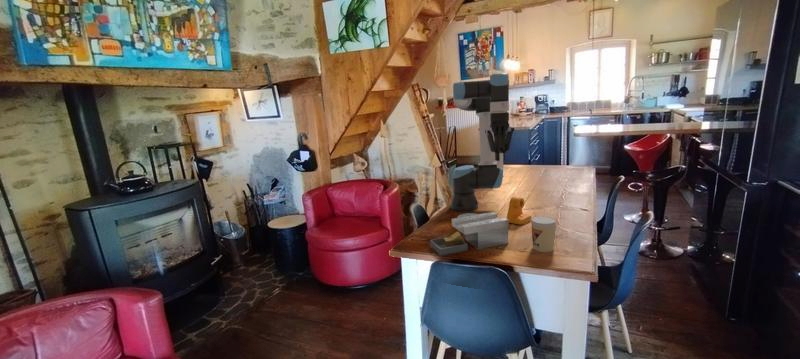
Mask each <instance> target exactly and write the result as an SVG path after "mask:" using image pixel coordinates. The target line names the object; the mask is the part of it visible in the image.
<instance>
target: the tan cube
mask: <svg viewBox="0 0 800 359" xmlns="http://www.w3.org/2000/svg"><path fill="white" fill-rule="evenodd" d="M450 236H452V238H453V239H454V241H455V242H456V243H457V245H459V244H461V243H462V242H466V240H465V237H463V236H462V233H461V232H460V231H459V230H457V231H456V232H455V233H453V234H452V235H450Z"/></svg>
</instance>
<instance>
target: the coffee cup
mask: <svg viewBox="0 0 800 359" xmlns="http://www.w3.org/2000/svg"><path fill="white" fill-rule="evenodd" d="M530 223H531V238H532V239H531V241H532V248H533V250H535V251H536V252H540V253H550V252H553V250H554V247H555V239H556V228H557V227H556V226H557V220H556V219H555V218H553V217H550V216H545V215H544V216H535V217H531V220H530Z"/></svg>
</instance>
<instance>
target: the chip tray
mask: <svg viewBox="0 0 800 359" xmlns="http://www.w3.org/2000/svg"><path fill="white" fill-rule="evenodd" d="M449 237H452V236H451V235H449V236H445V237H439V238H433V239H429V245H430V246H429V247H430V248H431V249H432V250H433V251H434V252H436V254H438V256H439V257H443V256H450V255H454V254H459V253H460V254H461V253H465V252H468V251H469V250H468V249H469V248H468V247H469V246H468V243H467V242H466V241H464V242H462V243H461V244H459V245H457V243H456V242H455V241H454V246H452V247H446V248H445V247H444V238H449Z"/></svg>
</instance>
